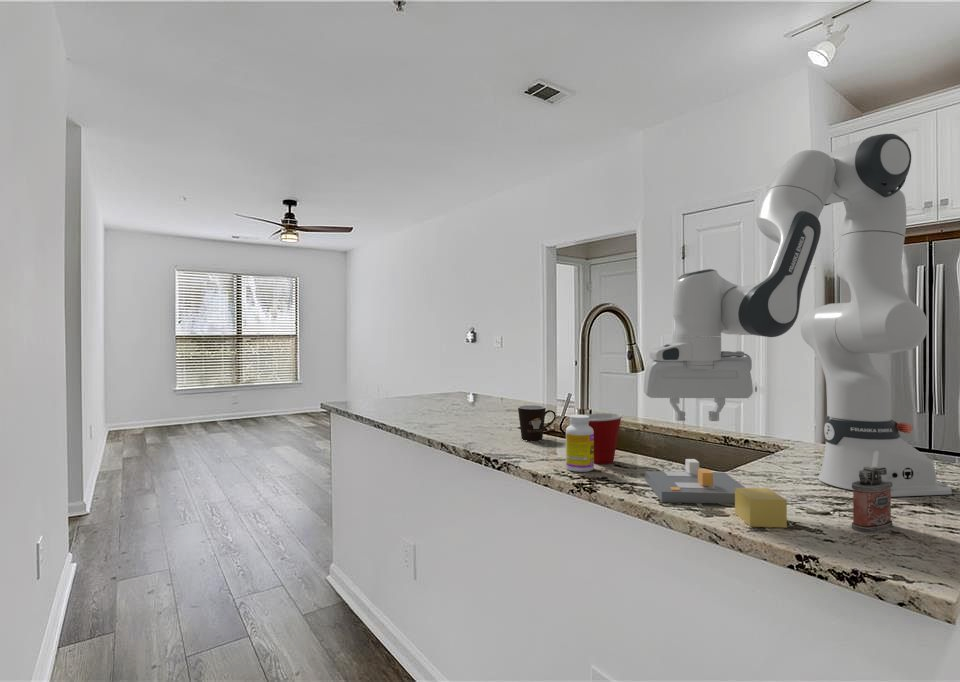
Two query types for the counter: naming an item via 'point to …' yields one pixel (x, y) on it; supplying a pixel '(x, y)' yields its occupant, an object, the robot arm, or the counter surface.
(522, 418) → the coffee mug
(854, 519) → the lighter
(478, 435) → the counter surface
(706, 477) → the block
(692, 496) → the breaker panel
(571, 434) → the supplement bottle
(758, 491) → the yellow block
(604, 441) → the plastic cup
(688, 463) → the toggle white
